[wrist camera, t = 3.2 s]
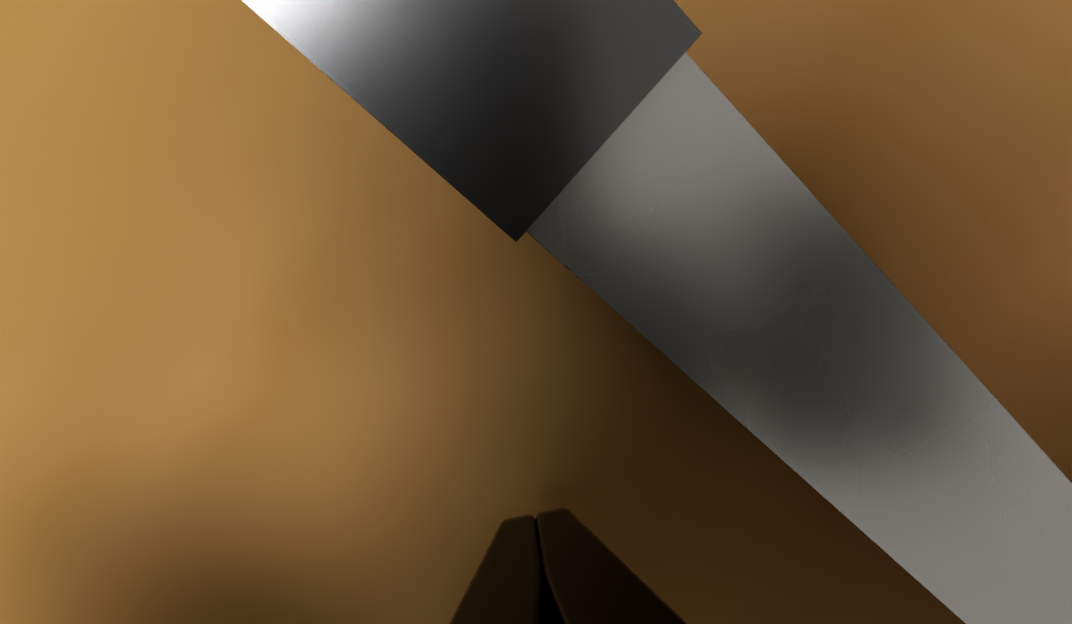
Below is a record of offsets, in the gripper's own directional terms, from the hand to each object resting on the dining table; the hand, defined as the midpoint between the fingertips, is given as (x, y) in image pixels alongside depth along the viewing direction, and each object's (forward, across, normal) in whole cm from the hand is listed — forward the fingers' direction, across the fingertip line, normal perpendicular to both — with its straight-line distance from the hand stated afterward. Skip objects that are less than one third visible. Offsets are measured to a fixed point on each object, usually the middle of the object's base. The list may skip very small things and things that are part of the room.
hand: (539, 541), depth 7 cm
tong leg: (+1, -4, -1) cm, 4 cm away
